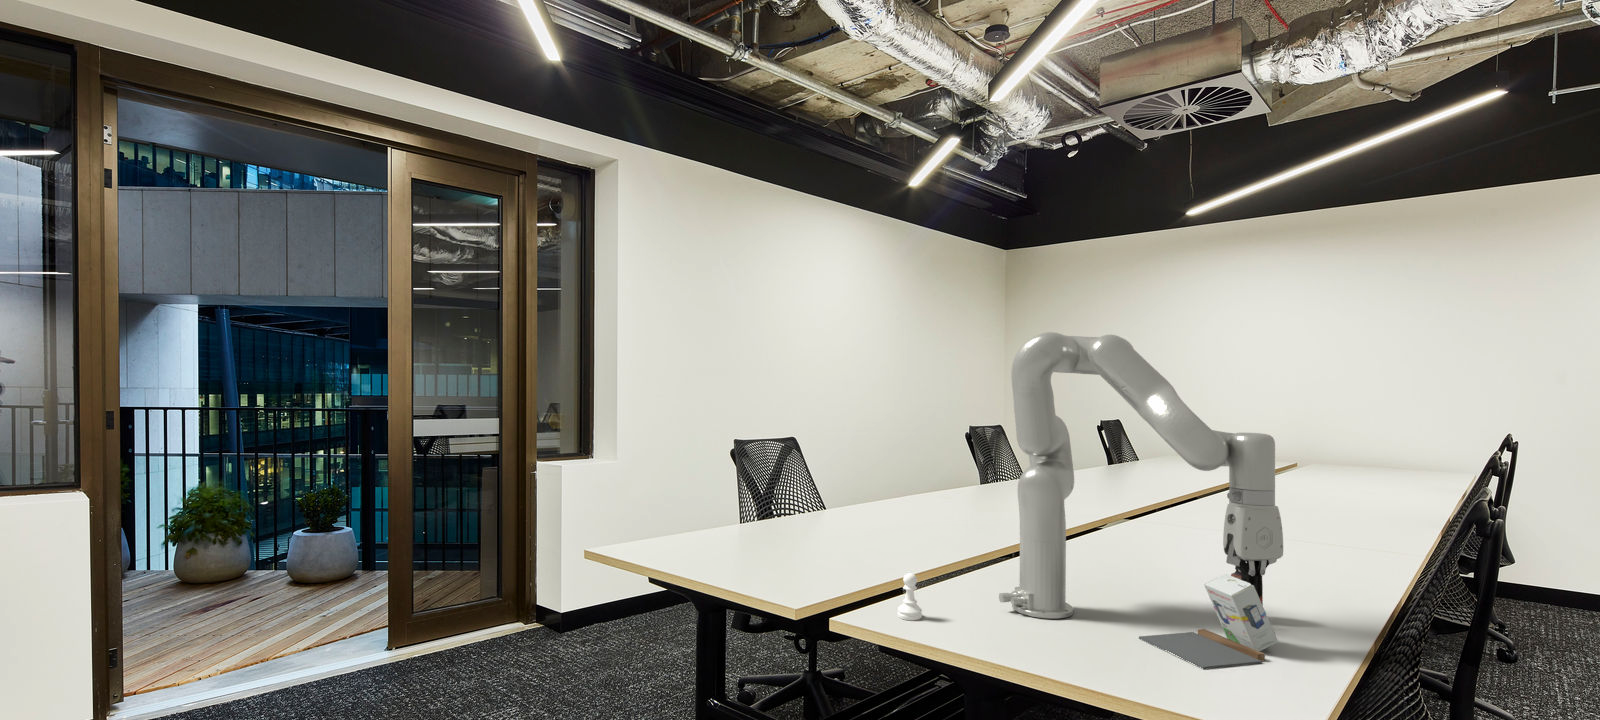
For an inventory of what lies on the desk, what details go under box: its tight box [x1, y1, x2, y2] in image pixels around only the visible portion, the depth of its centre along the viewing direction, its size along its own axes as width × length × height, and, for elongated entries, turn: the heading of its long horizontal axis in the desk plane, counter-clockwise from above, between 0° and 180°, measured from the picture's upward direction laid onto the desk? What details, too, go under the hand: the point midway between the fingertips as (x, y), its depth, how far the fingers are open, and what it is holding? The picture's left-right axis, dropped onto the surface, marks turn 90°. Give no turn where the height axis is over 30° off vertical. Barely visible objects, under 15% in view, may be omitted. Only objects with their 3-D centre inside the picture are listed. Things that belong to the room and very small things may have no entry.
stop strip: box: [1197, 628, 1266, 662], centre depth 142 cm, size 2×14×1 cm, turn 16°
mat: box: [1138, 631, 1263, 670], centre depth 140 cm, size 13×16×1 cm
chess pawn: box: [897, 572, 923, 621], centre depth 157 cm, size 5×5×9 cm
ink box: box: [1203, 573, 1279, 652], centre depth 143 cm, size 9×5×12 cm, turn 6°
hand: (1251, 594), depth 143 cm, fingers closed
